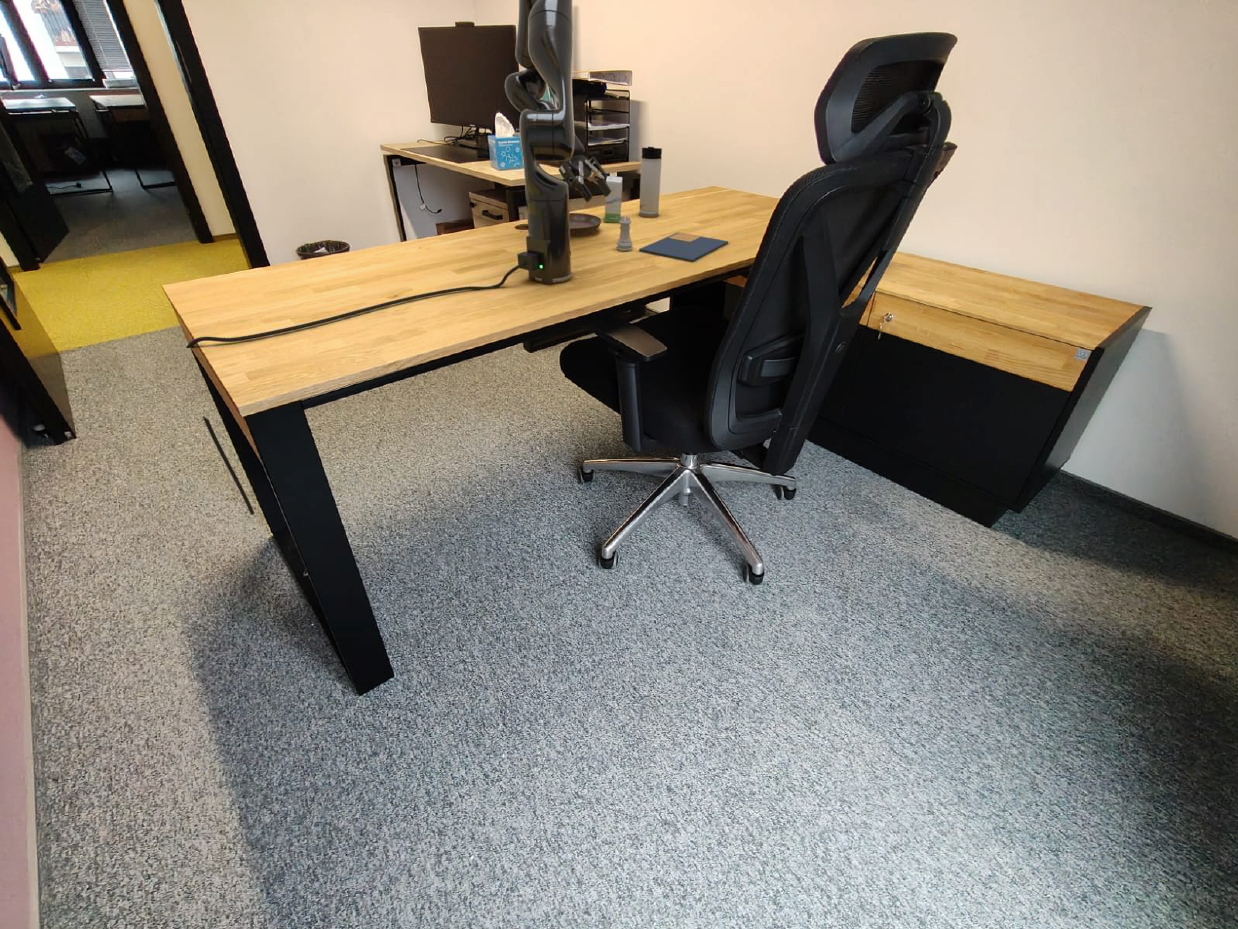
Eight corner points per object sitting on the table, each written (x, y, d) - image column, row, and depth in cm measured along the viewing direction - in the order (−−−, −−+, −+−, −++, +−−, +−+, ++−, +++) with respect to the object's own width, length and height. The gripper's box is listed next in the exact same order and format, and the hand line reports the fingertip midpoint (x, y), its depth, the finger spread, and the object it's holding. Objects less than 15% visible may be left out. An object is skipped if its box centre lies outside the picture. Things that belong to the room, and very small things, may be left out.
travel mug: (637, 217, 181) (640, 146, 169) (640, 212, 186) (643, 143, 174) (657, 218, 180) (661, 147, 168) (659, 213, 185) (663, 144, 173)
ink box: (605, 216, 181) (605, 175, 174) (621, 216, 181) (622, 176, 174) (604, 222, 174) (604, 180, 167) (621, 223, 174) (622, 181, 167)
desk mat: (692, 262, 143) (692, 258, 142) (639, 251, 149) (639, 247, 149) (728, 243, 158) (728, 240, 157) (678, 234, 164) (678, 231, 164)
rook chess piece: (622, 246, 153) (623, 214, 148) (635, 249, 151) (637, 217, 146) (612, 249, 150) (613, 217, 145) (626, 252, 148) (627, 220, 143)
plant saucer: (559, 241, 155) (559, 230, 153) (531, 227, 167) (530, 216, 165) (613, 233, 163) (613, 222, 161) (582, 220, 175) (582, 210, 173)
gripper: (553, 134, 137) (592, 191, 139) (587, 129, 147) (622, 183, 149) (538, 156, 143) (575, 211, 145) (571, 150, 153) (606, 202, 154)
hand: (599, 197), depth 147 cm, fingers open, 8 cm apart
